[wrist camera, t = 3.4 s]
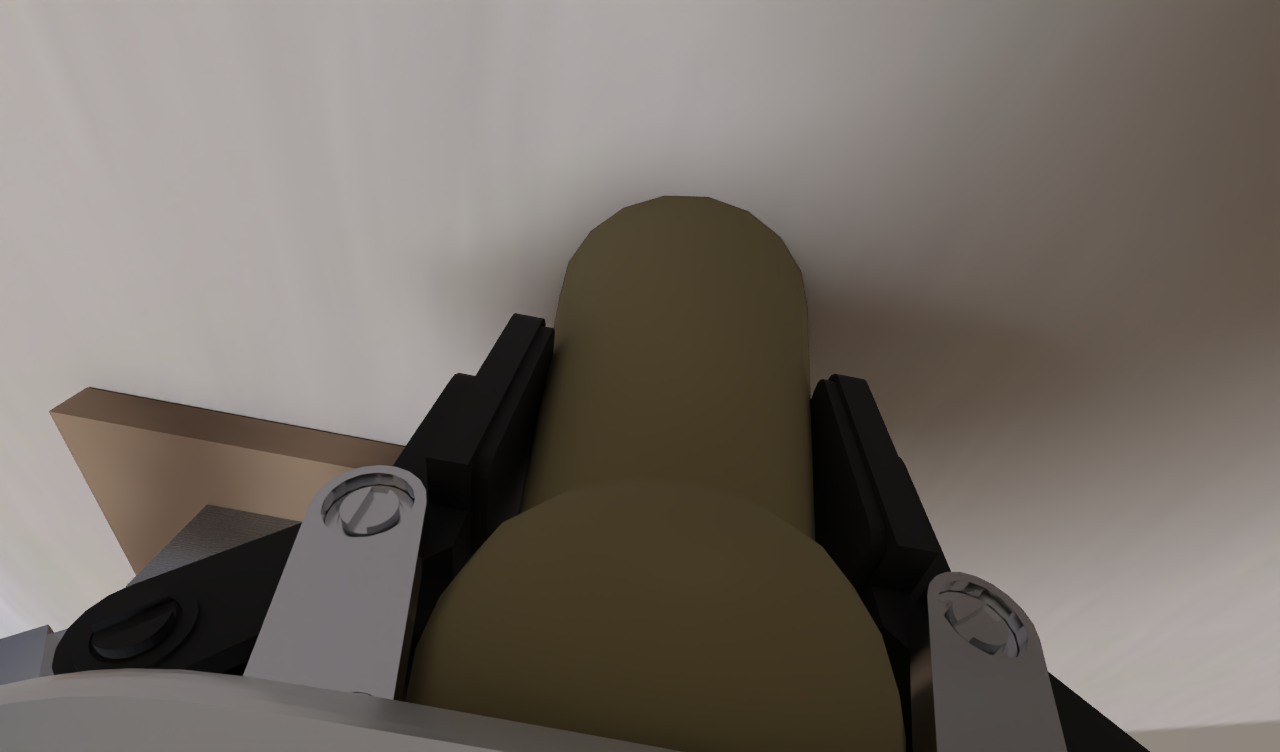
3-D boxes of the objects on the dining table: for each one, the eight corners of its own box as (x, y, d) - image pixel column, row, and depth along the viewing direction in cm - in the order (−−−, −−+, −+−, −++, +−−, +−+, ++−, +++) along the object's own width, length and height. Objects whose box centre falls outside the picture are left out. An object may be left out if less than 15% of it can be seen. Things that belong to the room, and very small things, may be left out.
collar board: (673, 497, 17) (671, 527, 16) (606, 739, 26) (602, 768, 25) (86, 387, 17) (48, 411, 16) (219, 669, 26) (200, 695, 25)
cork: (766, 434, 16) (852, 1039, 7) (551, 394, 16) (335, 946, 7) (844, 222, 12) (1241, 856, 3) (570, 171, 12) (178, 664, 3)
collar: (535, 565, 18) (507, 656, 15) (521, 723, 24) (499, 808, 21) (207, 504, 18) (125, 586, 15) (273, 678, 24) (222, 758, 21)
